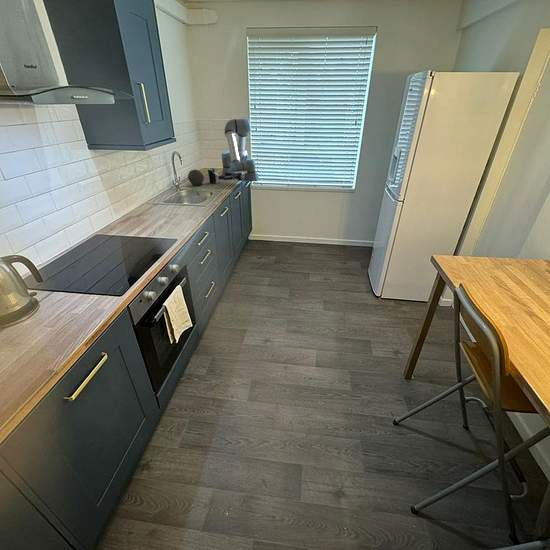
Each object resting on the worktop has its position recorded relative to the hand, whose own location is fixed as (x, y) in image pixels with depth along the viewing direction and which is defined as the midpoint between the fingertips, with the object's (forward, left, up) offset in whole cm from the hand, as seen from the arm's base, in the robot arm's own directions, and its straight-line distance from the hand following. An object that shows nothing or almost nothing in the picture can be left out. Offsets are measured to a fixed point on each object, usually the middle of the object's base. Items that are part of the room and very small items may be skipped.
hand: (221, 175), depth 278 cm
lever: (+1, -7, 0) cm, 7 cm away
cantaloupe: (+13, -20, -8) cm, 25 cm away
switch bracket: (+1, -10, -8) cm, 13 cm away
